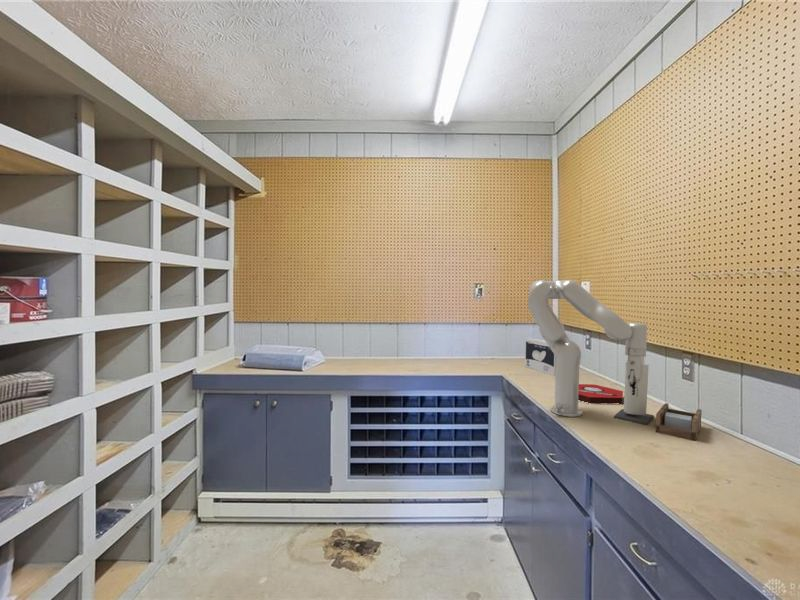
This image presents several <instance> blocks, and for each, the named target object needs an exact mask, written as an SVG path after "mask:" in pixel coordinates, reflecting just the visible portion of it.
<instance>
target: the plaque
mask: <svg viewBox="0 0 800 600" xmlns="http://www.w3.org/2000/svg"><path fill="white" fill-rule="evenodd" d="M622 398H623V399H624V393H623V390H619V389H615V388H611V387H606V386H604V385H599V384H590V383H589V384H588V383H587V384H585V383H579V398H578V400H580V401H579V402H582V401H584V402H583V403H585V402H588V403H587V404H589V403H619V404H618V405H623V399H622Z"/></svg>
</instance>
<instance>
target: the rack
mask: <svg viewBox="0 0 800 600" xmlns="http://www.w3.org/2000/svg"><path fill="white" fill-rule="evenodd" d="M666 412H669V413H675V414H681V415H686V416H692V425H691V431H690V430H685V429H680V428H675V427H671V426H666V425H665V414H666ZM701 428H702V408H701V409H700V408H697V410H696V411H695V413H694V412H689V411H684V410H679V409H674V408H669V403H668V402H666V403H664V404H663V405H662V406H661V407H660V409H659V410H658V411H657V412H656V413H655V433H656V434H662V435H666V436H667V435H668V436H670V437H675V438H680V439H685V440H690V441H695V442H696V440H697V438H698V435H699V433H700V431H701Z"/></svg>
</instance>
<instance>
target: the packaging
mask: <svg viewBox="0 0 800 600" xmlns="http://www.w3.org/2000/svg"><path fill="white" fill-rule="evenodd" d="M524 343H525V347H524V348H525V349H524V352H525V353H524V367H525V368H528V369H531V370H535V371H538V372H541V373H544V374H547V375H550V376H553V375H554V377H555V369H556V360H557V356H556V355H555V354H554V353H553V352H552V350H551V349H550V347H549V346H548V344H547V343H546V341H545V340H544V339H537V338H531V337H530V338H528V337H526V338H525V341H524Z"/></svg>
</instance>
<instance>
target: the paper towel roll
mask: <svg viewBox="0 0 800 600" xmlns="http://www.w3.org/2000/svg"><path fill="white" fill-rule="evenodd" d="M632 363H633V362H632ZM649 365H650V364H644V365H642V380H640V381H638V380H637V388H638V391H637V388H635V395H632V393H633V392H632V390H633V389H632V387H631V386H630V387H629V378H627V361H626V362H625V372H624V373H625V374H624V376H625V377H624V393H623V399H624V400H623V409H624V412H626V413H629V414H634V415H646V414H647V407H648V404H647V403H648V402H647V401H648V387H649V386H648V385H649V381H648V380H649ZM628 377H630V375H629V376H628ZM634 380H636V378H634ZM634 382H635V381H634Z"/></svg>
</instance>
